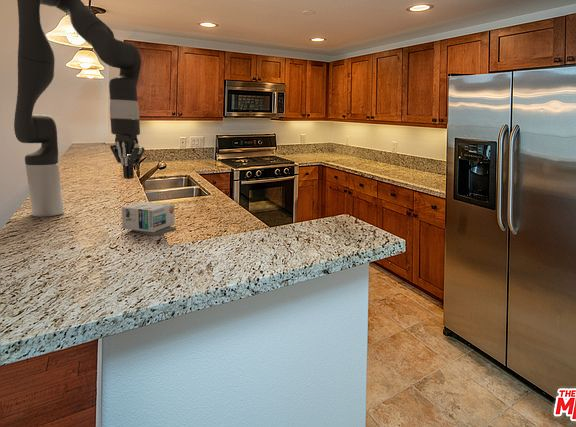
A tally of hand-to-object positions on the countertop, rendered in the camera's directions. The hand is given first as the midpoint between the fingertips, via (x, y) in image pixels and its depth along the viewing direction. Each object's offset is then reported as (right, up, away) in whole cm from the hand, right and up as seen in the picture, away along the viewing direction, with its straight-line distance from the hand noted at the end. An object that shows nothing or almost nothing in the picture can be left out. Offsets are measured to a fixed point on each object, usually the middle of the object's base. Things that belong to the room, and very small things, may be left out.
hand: (128, 178), depth 107 cm
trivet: (+7, -15, +2) cm, 17 cm away
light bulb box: (0, -10, +3) cm, 11 cm away
